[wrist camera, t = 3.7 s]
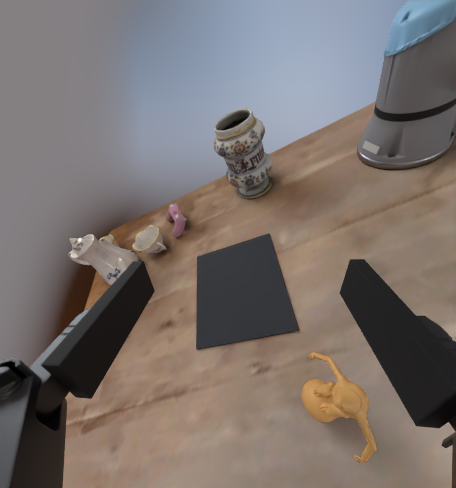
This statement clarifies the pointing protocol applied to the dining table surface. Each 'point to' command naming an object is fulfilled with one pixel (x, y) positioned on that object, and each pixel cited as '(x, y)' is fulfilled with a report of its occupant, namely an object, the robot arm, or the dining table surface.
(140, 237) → the chinaware
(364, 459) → the figurine
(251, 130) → the apothecary jar
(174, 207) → the video game controller
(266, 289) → the mat
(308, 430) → the dining table surface
